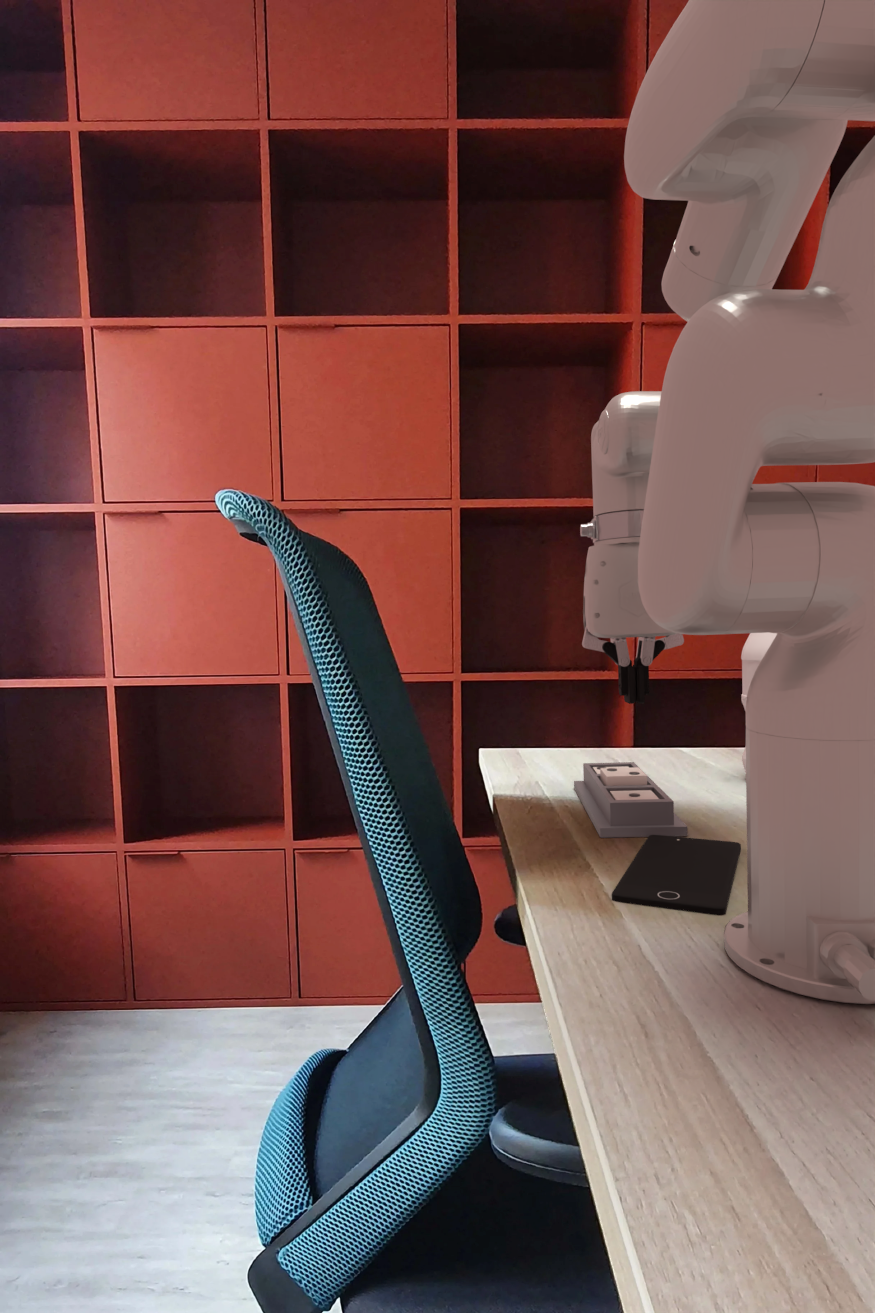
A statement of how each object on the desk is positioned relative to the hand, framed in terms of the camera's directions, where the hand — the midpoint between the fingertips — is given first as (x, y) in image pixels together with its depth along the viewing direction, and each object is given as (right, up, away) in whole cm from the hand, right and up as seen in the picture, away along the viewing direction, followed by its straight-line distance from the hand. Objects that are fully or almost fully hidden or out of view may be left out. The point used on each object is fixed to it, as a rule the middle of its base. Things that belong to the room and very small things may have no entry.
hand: (634, 701), depth 83 cm
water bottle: (+23, -12, +19) cm, 33 cm away
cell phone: (+1, -15, -14) cm, 20 cm away
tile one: (0, -12, +1) cm, 12 cm away
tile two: (+1, -11, +8) cm, 13 cm away
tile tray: (+1, -13, +8) cm, 15 cm away
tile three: (+1, -12, +14) cm, 18 cm away
